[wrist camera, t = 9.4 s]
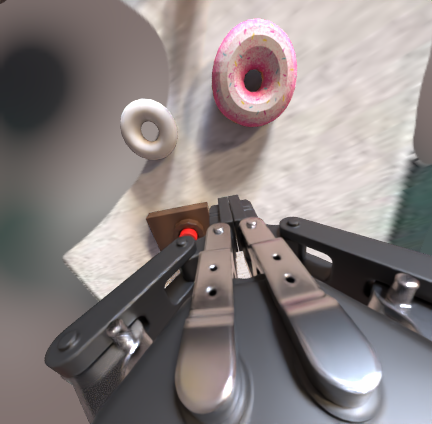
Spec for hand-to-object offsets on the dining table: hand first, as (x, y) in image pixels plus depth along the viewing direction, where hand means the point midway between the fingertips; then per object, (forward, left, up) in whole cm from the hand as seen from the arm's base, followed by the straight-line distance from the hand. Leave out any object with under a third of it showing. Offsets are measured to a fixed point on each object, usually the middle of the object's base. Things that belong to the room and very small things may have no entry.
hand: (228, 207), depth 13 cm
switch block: (-11, -16, -25) cm, 32 cm away
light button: (-9, -16, -21) cm, 28 cm away
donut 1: (-11, +6, -25) cm, 28 cm away
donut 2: (+8, +10, -25) cm, 28 cm away
